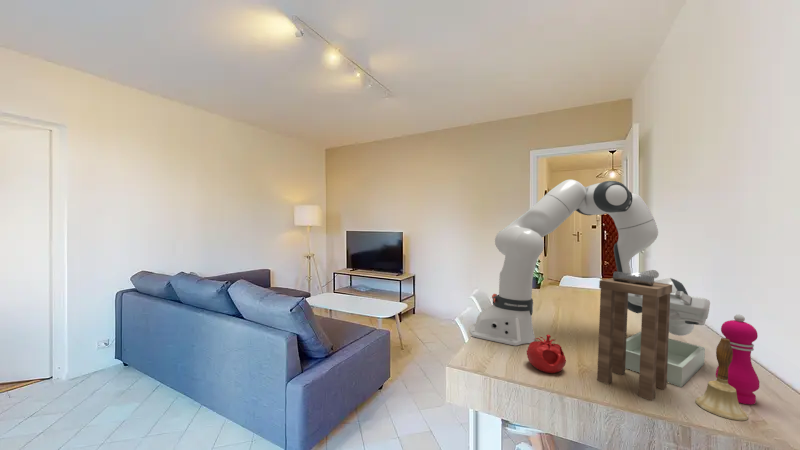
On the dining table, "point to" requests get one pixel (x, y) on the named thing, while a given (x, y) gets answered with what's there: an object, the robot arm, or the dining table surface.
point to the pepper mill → (741, 359)
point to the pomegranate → (546, 355)
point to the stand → (651, 333)
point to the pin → (637, 277)
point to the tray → (669, 359)
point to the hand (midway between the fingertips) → (658, 290)
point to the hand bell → (722, 388)
